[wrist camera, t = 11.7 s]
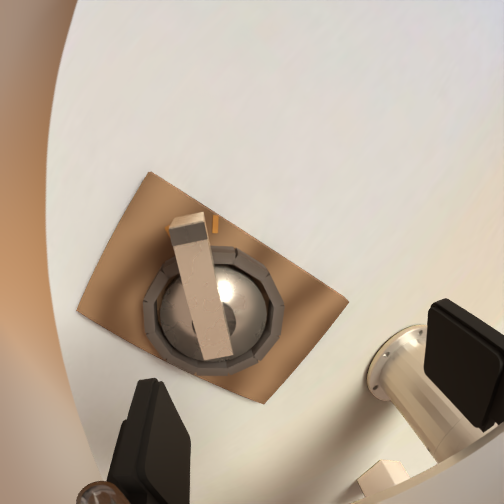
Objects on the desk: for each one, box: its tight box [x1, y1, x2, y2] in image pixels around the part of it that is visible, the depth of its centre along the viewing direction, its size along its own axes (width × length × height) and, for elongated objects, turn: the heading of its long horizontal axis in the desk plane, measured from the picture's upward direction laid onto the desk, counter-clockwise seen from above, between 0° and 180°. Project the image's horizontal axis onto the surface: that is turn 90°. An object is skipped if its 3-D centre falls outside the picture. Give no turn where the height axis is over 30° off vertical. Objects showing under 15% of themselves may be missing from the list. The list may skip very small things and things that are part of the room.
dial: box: [160, 212, 267, 362], centre depth 26 cm, size 15×10×7 cm, turn 9°
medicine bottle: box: [357, 459, 410, 498], centre depth 42 cm, size 7×7×12 cm
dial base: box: [76, 172, 349, 404], centre depth 30 cm, size 24×16×4 cm
